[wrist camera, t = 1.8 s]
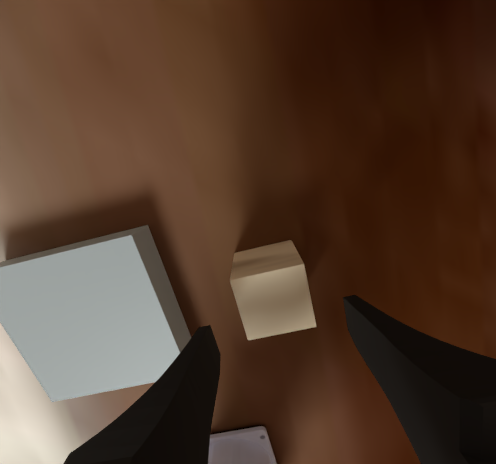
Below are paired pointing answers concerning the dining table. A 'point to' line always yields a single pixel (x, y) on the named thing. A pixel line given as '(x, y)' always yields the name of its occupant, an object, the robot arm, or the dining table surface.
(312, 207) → the dining table surface
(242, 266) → the birch cube
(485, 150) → the dining table surface
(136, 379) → the grey-blue block
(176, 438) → the robot arm
